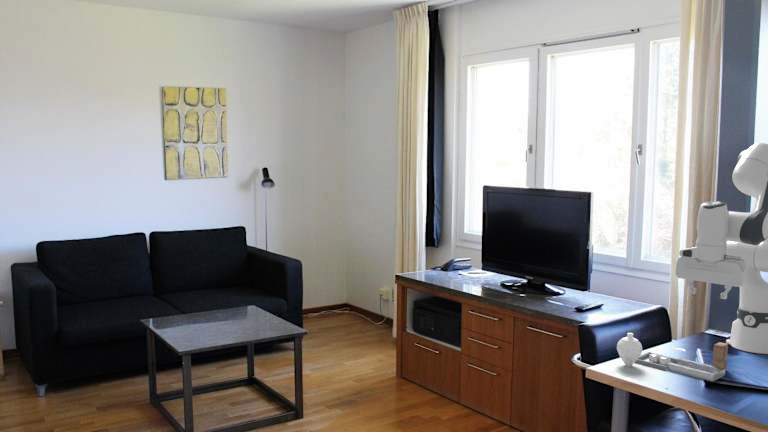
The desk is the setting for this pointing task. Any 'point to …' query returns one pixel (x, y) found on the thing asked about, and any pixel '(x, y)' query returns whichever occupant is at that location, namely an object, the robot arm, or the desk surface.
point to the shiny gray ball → (654, 358)
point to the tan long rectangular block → (720, 355)
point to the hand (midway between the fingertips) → (708, 296)
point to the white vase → (629, 349)
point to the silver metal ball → (664, 360)
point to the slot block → (697, 369)
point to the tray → (653, 363)
